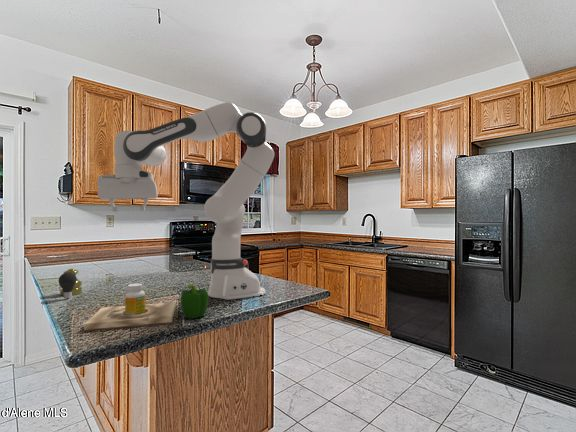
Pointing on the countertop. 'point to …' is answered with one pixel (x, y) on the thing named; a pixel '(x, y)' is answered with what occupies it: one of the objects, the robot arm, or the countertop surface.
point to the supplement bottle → (135, 300)
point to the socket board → (131, 317)
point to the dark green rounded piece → (76, 288)
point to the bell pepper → (194, 302)
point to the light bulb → (67, 283)
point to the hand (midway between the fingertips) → (129, 211)
